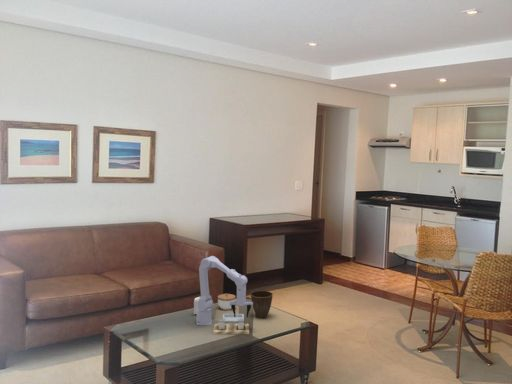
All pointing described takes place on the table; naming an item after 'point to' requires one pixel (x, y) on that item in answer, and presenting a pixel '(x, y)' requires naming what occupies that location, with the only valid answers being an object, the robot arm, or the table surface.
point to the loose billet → (240, 324)
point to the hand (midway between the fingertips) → (241, 316)
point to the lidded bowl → (226, 301)
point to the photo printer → (196, 304)
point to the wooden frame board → (231, 329)
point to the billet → (221, 324)
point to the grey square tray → (232, 318)
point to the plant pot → (261, 303)
